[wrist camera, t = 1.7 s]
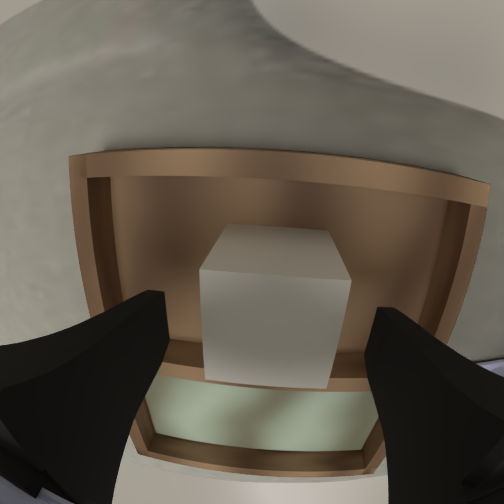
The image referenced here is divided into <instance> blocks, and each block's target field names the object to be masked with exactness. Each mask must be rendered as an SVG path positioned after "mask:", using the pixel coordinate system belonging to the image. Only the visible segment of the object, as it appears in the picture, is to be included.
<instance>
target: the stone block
mask: <svg viewBox="0 0 504 504" xmlns="http://www.w3.org/2000/svg"><path fill="white" fill-rule="evenodd" d="M199 277H200V304H201V324H202V342H203V358H204V372H205V379H206V380H214V381H222V382H230V383H239V384H249V385H261V386H274V387H290V388H316V389H326V388H327V385H328V381H329V377H330V374H331V370H332V366H333V362H334V358H335V354H336V350H337V346H338V342H339V338H340V334H341V329H342V325H343V320H344V316H345V311H346V306H347V302H348V297H349V292H350V287H351V281H352V280H351V278H350V276H349V273H348V271H347V269H346V267H345V265H344V263H343V260H342V258H341V256H340V254H339V252H338V250H337V248H336V246H335V243H334V241H333V239H332V237H331V235H330V233H329V231H328V230H315V229H302V228H288V227H274V226H260V225H244V224H227V226H226V227H225V229H224V231H223V232H222V234H221V235H220V237H219V238H218V240H217V242H216V243H215V245H214V246H213V248H212V250H211V251H210V253H209V254H208V256H207V258H206V259H205V261H204V262H203V264H202V266H201V267H200V269H199Z"/></svg>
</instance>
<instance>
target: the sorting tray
mask: <svg viewBox="0 0 504 504" xmlns="http://www.w3.org/2000/svg"><path fill="white" fill-rule="evenodd" d="M69 175H70V191H71V203H72V213H73V222H74V231H75V238H76V245H77V252H78V258H79V264H80V270H81V275H82V280H83V286H84V290H85V295H86V300H87V304H88V309H89V313H90V317H91V318H92V317H94V316H96V315H98V314H100V313H103V312H105V311H106V310H108V309H110V308H112V307H114V306H116V305H118V304H120V303H122V302H124V301H125V300H127V299H129V298H131V297H133V296H135V295H137V294H139V293H141V292H144V291H146V290H156V291H164V292H165V302H166V311H167V320H168V328H169V336H170V341H169V344H168V347H167V350H166V353H165V356H164V359H163V362H162V364H161V366H160V368H159V370H158V372H157V374H156V376H155V378H154V380H153V382H152V384H151V386H150V388H149V390H148V392H147V394H146V396H145V398H144V400H143V402H142V404H141V406H140V408H139V410H138V412H137V414H136V416H135V419H134V421H133V424H132V427H131V430H130V433H129V434H130V437H131V439H132V441H133V443H134V446H135V448H136V450H137V452H138V454H140V455H144V456H148V457H152V458H155V459H159V460H164V461H168V462H172V463H177V464H182V465H187V466H192V467H197V468H203V469H209V470H216V471H223V472H231V473H239V474H249V475H261V476H277V477H337V476H353V475H365V474H373V473H374V472H375V470H376V469H377V468H378V466H379V465H380V464H381V462H382V461H383V459H384V458H385V456H386V449H385V441H384V436H383V431H382V427H381V423H380V420H379V416H378V413H377V409H376V406H375V402H374V399H373V395H372V392H371V389H370V385H369V382H368V378H367V372H366V366H365V359H364V352H365V349H366V345H367V342H368V339H369V335H370V332H371V328H372V324H373V321H374V317H375V313H376V310H377V307H394V308H396V309H397V310H399V311H400V312H402V313H403V314H405V315H406V316H408V317H409V318H410V319H412V320H413V321H414V322H416V323H417V324H418V325H420V326H421V327H422V328H423V329H425V330H426V331H427V332H429V333H430V334H431V335H433V336H434V337H436V338H437V339H438V340H440V341H441V342H442V343H444V344H445V345H447V343H448V340H449V338H450V335H451V333H452V330H453V328H454V325H455V323H456V320H457V317H458V314H459V312H460V309H461V306H462V303H463V300H464V297H465V294H466V291H467V288H468V285H469V281H470V278H471V275H472V271H473V268H474V264H475V260H476V257H477V253H478V249H479V245H480V240H481V236H482V231H483V227H484V222H485V217H486V211H487V206H488V200H489V193H490V186H491V185H490V184H487V183H484V182H481V181H478V180H474V179H471V178H467V177H464V176H460V175H457V174H452V173H448V172H443V171H438V170H433V169H428V168H423V167H417V166H412V165H406V164H400V163H394V162H388V161H382V160H375V159H368V158H360V157H352V156H344V155H335V154H326V153H316V152H305V151H292V150H277V149H259V148H232V147H168V148H141V149H124V150H110V151H100V152H93V153H86V154H79V155H73V156H69ZM227 224H244V225H260V226H274V227H288V228H302V229H315V230H328V231H329V233H330V235H331V237H332V239H333V241H334V243H335V246H336V248H337V250H338V252H339V254H340V256H341V258H342V260H343V263H344V265H345V267H346V269H347V271H348V273H349V276H350V278H351V280H352V281H351V287H350V292H349V297H348V302H347V306H346V311H345V316H344V320H343V325H342V329H341V334H340V338H339V342H338V346H337V350H336V354H335V358H334V362H333V366H332V370H331V374H330V377H329V381H328V385H327V388H326V389H316V388H290V387H274V386H261V385H249V384H239V383H230V382H222V381H214V380H206V379H205V372H204V358H203V342H202V324H201V304H200V277H199V269H200V267H201V266H202V264H203V262H204V261H205V259H206V258H207V256H208V254H209V253H210V251H211V250H212V248H213V246H214V245H215V243H216V242H217V240H218V238H219V237H220V235H221V234H222V232H223V231H224V229H225V227H226V226H227Z"/></svg>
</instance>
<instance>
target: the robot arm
mask: <svg viewBox="0 0 504 504" xmlns="http://www.w3.org/2000/svg"><path fill="white" fill-rule="evenodd" d="M169 341H170V336H169V328H168V320H167V311H166V302H165V292H164V291H156V290H146V291H144V292H141V293H139V294H137V295H135V296H133V297H131V298H129V299H127V300H125V301H124V302H122V303H120V304H118V305H116V306H114V307H112V308H110V309H108V310H106V311H105V312H103V313H100V314H98V315H96V316H94V317H92V318H90V319H88V320H86V321H84V322H82V323H79V324H77V325H75V326H72V327H70V328H67V329H64V330H62V331H59V332H56V333H53V334H50V335H47V336H43V337H39V338H36V339H32V340H28V341H24V342H20V343H14V344H9V345H2V346H0V504H112V499H113V493H114V488H115V483H116V479H117V475H118V471H119V466H120V462H121V459H122V456H123V452H124V449H125V445H126V442H127V439H128V436H129V433H130V430H131V427H132V424H133V421H134V419H135V416H136V414H137V412H138V410H139V408H140V406H141V404H142V402H143V400H144V398H145V396H146V394H147V392H148V390H149V388H150V386H151V384H152V382H153V380H154V378H155V376H156V374H157V372H158V370H159V368H160V366H161V364H162V362H163V359H164V356H165V353H166V350H167V347H168V344H169ZM364 359H365V366H366V372H367V378H368V382H369V385H370V389H371V392H372V395H373V399H374V402H375V406H376V409H377V413H378V416H379V420H380V423H381V427H382V431H383V436H384V441H385V449H386V458H387V470H388V490H389V491H388V492H389V504H504V359H502V360H496V361H489V362H482V363H474V362H472V361H471V360H469V359H467V358H465V357H464V356H462V355H460V354H459V353H457V352H456V351H454V350H453V349H451V348H450V347H448V346H447V345H445V344H444V343H442V342H441V341H440V340H438V339H437V338H436V337H434V336H433V335H431V334H430V333H429V332H427V331H426V330H425V329H423V328H422V327H421V326H420V325H418V324H417V323H416V322H414V321H413V320H412V319H410V318H409V317H408V316H406V315H405V314H403V313H402V312H400V311H399V310H397V309H396V308H394V307H377V310H376V313H375V317H374V321H373V324H372V328H371V332H370V335H369V339H368V342H367V345H366V349H365V352H364Z"/></svg>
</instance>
